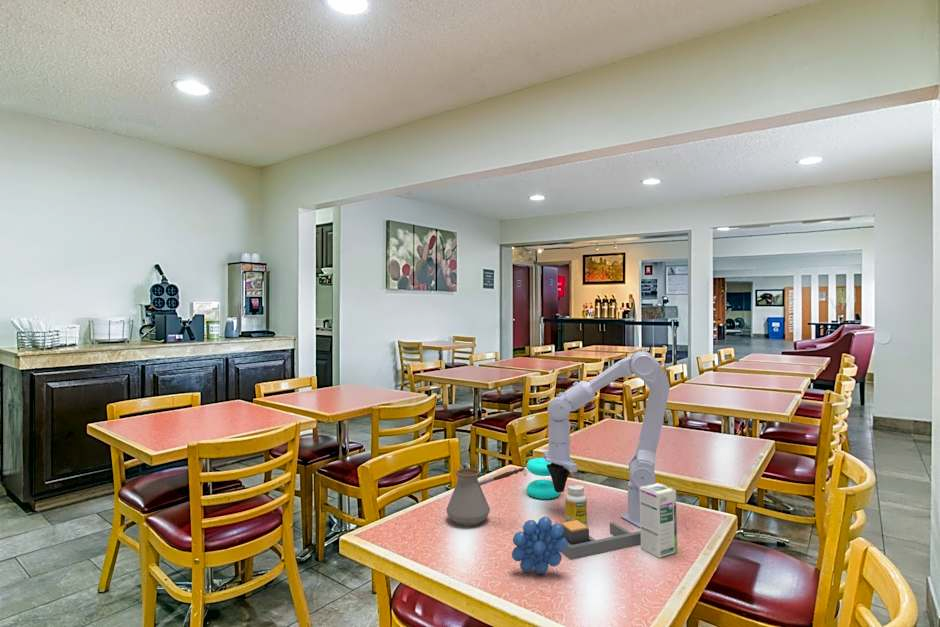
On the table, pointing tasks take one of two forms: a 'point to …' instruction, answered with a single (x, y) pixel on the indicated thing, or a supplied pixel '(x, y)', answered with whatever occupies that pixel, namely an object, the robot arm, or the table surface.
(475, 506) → the coffee pot
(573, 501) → the supplement bottle
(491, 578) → the table surface
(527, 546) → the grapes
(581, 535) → the grey tray with block
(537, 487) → the donuts
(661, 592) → the table surface
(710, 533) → the table surface
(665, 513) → the syrup box
